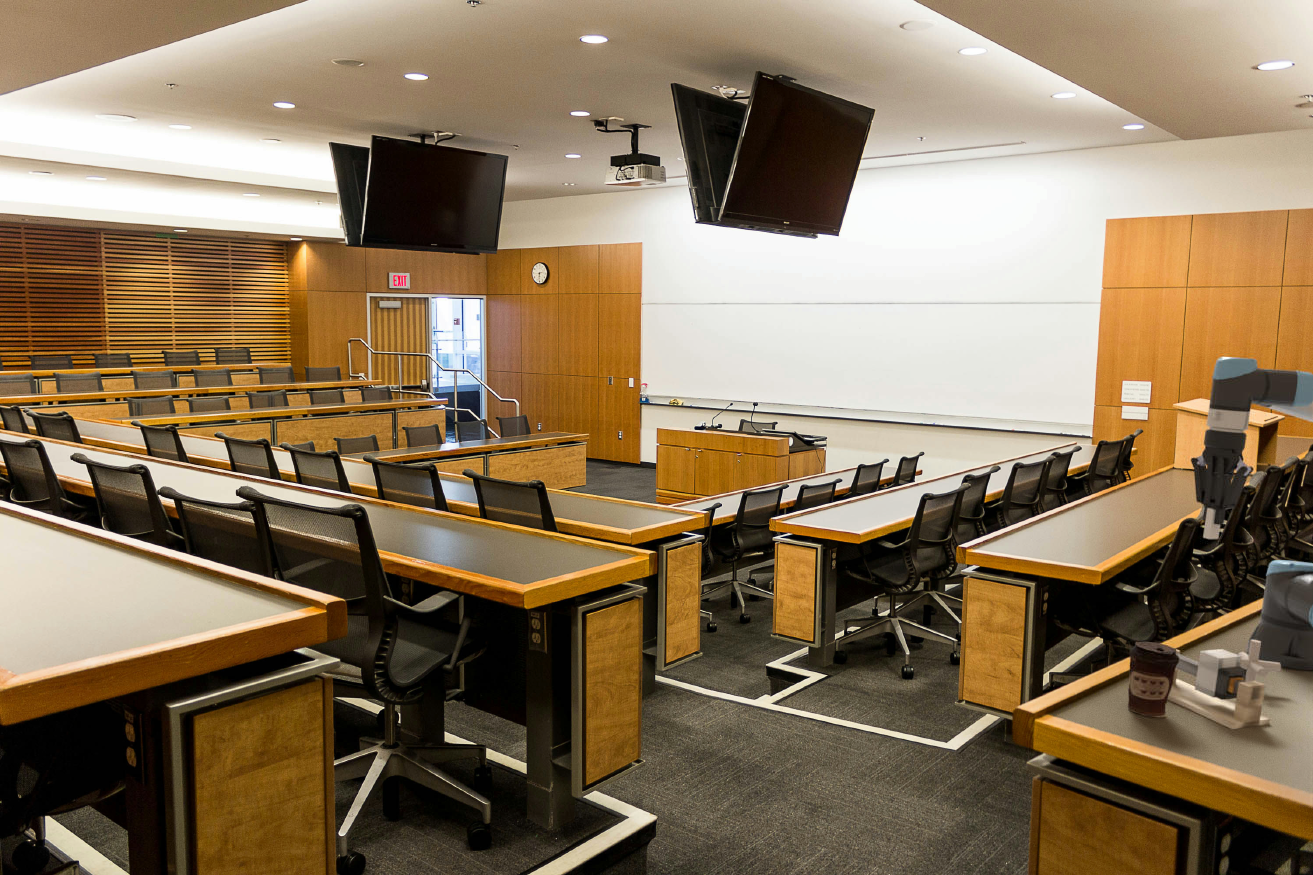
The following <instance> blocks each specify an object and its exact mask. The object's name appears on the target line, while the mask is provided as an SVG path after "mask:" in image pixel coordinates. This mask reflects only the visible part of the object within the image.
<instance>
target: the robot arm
mask: <svg viewBox="0 0 1313 875" xmlns="http://www.w3.org/2000/svg"><path fill="white" fill-rule="evenodd" d="M1211 377H1212V384H1211V391H1210V399H1209V406H1208V412H1207V418H1206V419H1207V420H1206V426H1207V427H1208V428H1206V430H1205V434H1204V439H1203V445H1204V449H1203V451H1202V453H1201V455H1199V456H1197V457H1192V458H1191V459H1190V462H1191V464H1192V468H1193V473H1194V474H1193V475H1194V489H1195V498H1196V502H1197V503H1200V504H1202V505H1203V507H1204V508H1203V515H1202V521H1203V522H1204V529H1203V535H1202V537H1203V538H1204V539H1207V540H1218V539H1219V536H1220V529H1221V526H1222V525H1224V523H1225V516H1226V511H1227V510H1229V509H1235V508H1236V507H1237V504H1238V502H1239V500H1240V497H1241V495H1242V492H1243V489H1244V487H1245V485H1246V481H1247V479H1248V477H1249V476H1250V475H1251V474H1252V472H1254V467H1253V466H1250V465H1249V466H1248V465H1247V463H1245V461H1244V456H1243V451H1244V450H1245V447H1246V442H1247V434H1246V432H1245V431H1247V430H1248V428H1249V423H1250V417H1251V416H1250V415H1251V407H1252V404H1253V405H1256V406H1259V407H1263V408H1267V409H1270V410H1274V411H1277V412H1279V413H1282V414H1285V415H1289V416H1292V417H1295V418H1298V419H1301V420H1305V421H1308V422H1311V423H1313V373H1311V372H1308V371H1300V370H1287V369H1272V368H1259V367H1258V361H1257V360H1256V359H1255V358H1249V357H1248V358H1245V357H1229V356H1221V357H1219V358H1218V359H1217V360H1216V362H1215V365H1214V369H1213V374H1212V376H1211ZM1235 471H1236V472H1235ZM1203 538H1202V539H1203ZM1267 567H1268V568H1267V572H1266V574H1265V577H1266V578H1265V579H1266V580H1265V585H1264V592H1263V600H1262V606H1261V612H1260V618H1259V622H1258V624H1257V625H1256V627H1255V629H1254V631H1253V632H1252V634H1251V635H1250V637H1249V639H1248V641H1247V646H1246V652H1247V653H1248V654H1249V649H1250V642H1251V640H1258V641H1260V642H1261V646H1260V652H1259V659H1258V660H1261V661H1269V662H1277V663H1280V664H1281V667H1283V668H1289V669H1293V670H1300V671H1301V670H1302V671H1310V670H1313V563H1312V562H1306V561H1305V562H1304V561H1297V560H1296V561H1295V560H1282V559H1277V560H1272V561H1271V562H1269V564H1268V566H1267Z"/></svg>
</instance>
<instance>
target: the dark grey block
mask: <svg viewBox="0 0 1313 875" xmlns="http://www.w3.org/2000/svg"><path fill="white" fill-rule="evenodd" d="M1246 673H1247V669H1246V667H1239V666H1238V667H1228V668H1219V669H1218V676H1217V683H1216V689H1215V696H1214V697H1217V698H1219V699H1221V700H1230V699H1231V700H1232V699H1236V698H1237V693H1231V692H1228V690H1227V688H1228V682H1229V676H1234V677H1240V678H1243V679H1244V681H1245V679H1246Z"/></svg>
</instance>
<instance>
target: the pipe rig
mask: <svg viewBox="0 0 1313 875" xmlns="http://www.w3.org/2000/svg"><path fill="white" fill-rule="evenodd" d="M1175 649H1176V650H1177V651H1176V653H1175V654H1176V655H1178V656H1179V663H1178V664H1177V666H1176V668H1175V673H1174V678H1173V684H1172V688H1171V691H1170V693H1169V695H1168V699H1167V701H1170V702H1172V703H1174V704H1177V705H1179V706H1180V707H1183V708H1185V709H1188V710H1189V711H1192V712H1194V713H1197V714H1198V715H1200V716H1203V717H1205V718H1207V719H1209V720H1211V721H1214V722H1216V723H1218V724H1220V725H1222V726H1224V727H1227V728H1229V729H1231V730H1234V729H1235V730H1236V729H1237V730H1238V729H1242V728H1243V729H1244V728H1251V727H1258V726H1266V725H1269V724H1270V720H1271V719H1270V718H1269V717H1267V716H1264V715H1262V710H1263V708H1262V707H1263V703H1264V696H1265V689H1266V684H1264V683H1262V682H1259V681H1257V680H1255V681H1248V682H1247V681H1244V679H1243V678H1240V677H1234V676H1229V682H1228V688H1227V690H1228V692H1231V693H1237V698H1235V699H1236V700H1235V702H1232V701H1229V700H1228V699H1225V700H1221V699H1219V698H1217V697H1215V698H1213V697H1211V696H1209V695H1206V694H1204V693H1202V692H1199V691H1197V690H1195V686H1194V685H1192V684H1190V683H1187V682H1185V681H1183V680H1181V679H1179V678H1177V676H1178V670H1180V671H1183V673H1184V672H1185V673H1187V674H1189V675H1192V676H1194V677H1196V678H1197V671H1198V664H1199V661H1197V660H1195V659H1192V658H1189V657H1187V656H1184V655H1183V654H1181V650H1179V649H1177V648H1175Z"/></svg>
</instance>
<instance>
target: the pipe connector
mask: <svg viewBox="0 0 1313 875" xmlns="http://www.w3.org/2000/svg"><path fill="white" fill-rule="evenodd" d="M1260 646H1261V642H1260V641H1258V640H1251V642H1250V649H1249V653H1248V654H1247V653H1246V652H1244V651H1241V652H1239V653H1238V654H1237V655H1239V656H1241V662H1240V667H1242V668H1245V669H1247V673H1246V679H1245V681H1247V682H1248V681H1256V677H1257V675H1258V676H1259V677H1261V678H1264V677H1266V676H1268V674H1269V672H1268V671H1273V672H1281V670H1282V666H1281V664H1280V663H1277V662H1269V661H1262V660H1260V659H1259V652H1260Z"/></svg>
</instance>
